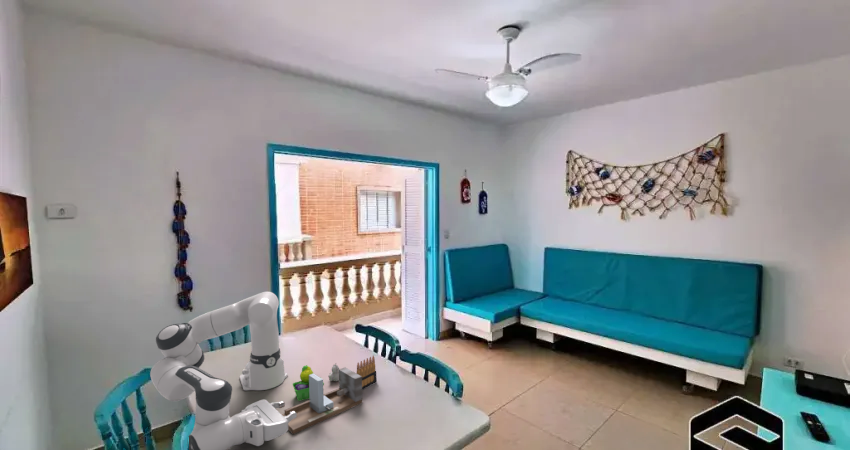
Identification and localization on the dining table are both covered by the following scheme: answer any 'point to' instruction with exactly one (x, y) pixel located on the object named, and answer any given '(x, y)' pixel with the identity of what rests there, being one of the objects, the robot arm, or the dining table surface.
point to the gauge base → (341, 397)
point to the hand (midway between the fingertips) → (289, 408)
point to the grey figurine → (334, 373)
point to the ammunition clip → (367, 372)
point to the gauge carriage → (318, 395)
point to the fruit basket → (303, 384)
